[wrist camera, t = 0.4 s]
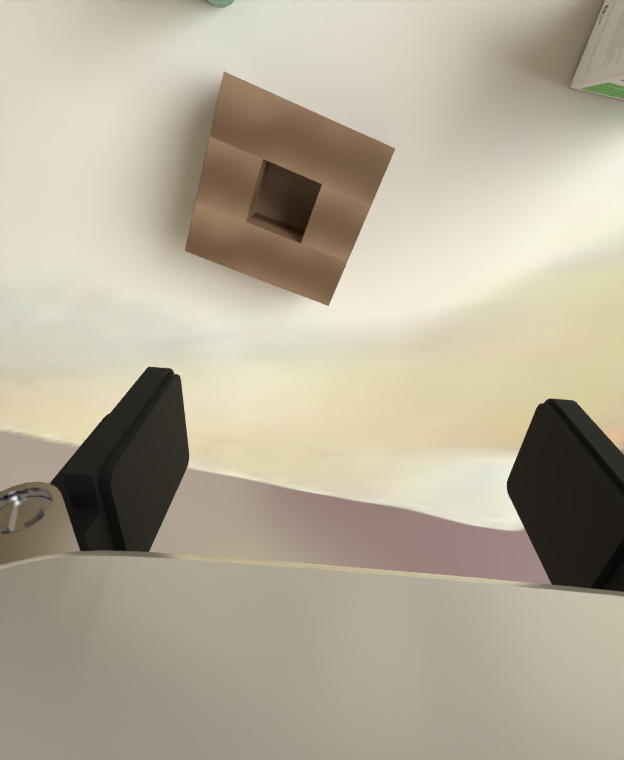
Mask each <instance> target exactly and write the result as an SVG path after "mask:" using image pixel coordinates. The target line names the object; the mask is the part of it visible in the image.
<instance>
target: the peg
mask: <svg viewBox="0 0 624 760" xmlns="http://www.w3.org/2000/svg"><path fill="white" fill-rule="evenodd" d="M207 1H208V2H209V3H211V4H212V5H214V6H217V7H225V6H228V5H230V4H231V3H233V2H234V0H207Z"/></svg>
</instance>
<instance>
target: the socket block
mask: <svg viewBox="0 0 624 760" xmlns="http://www.w3.org/2000/svg"><path fill="white" fill-rule="evenodd" d="M394 150H395V148H392V147H390V146H388V145H386V144H383V143H381V142H379V141H377V140H375V139H372V138H370V137H368V136H366V135H363V134H361V133H359V132H357V131H355V130H352V129H350V128H348V127H346V126H343V125H341V124H339V123H337V122H335V121H332V120H330V119H328V118H326V117H324V116H321V115H319V114H317V113H315V112H312V111H310V110H308V109H306V108H304V107H301V106H299V105H297V104H295V103H292V102H290V101H288V100H286V99H284V98H281V97H279V96H277V95H275V94H272V93H270V92H268V91H266V90H264V89H261V88H259V87H257V86H255V85H252V84H250V83H248V82H246V81H244V80H241V79H239V78H237V77H235V76H233V75H230V74H228V73H226V72H224V74H223V79H222V83H221V88H220V92H219V97H218V102H217V106H216V111H215V115H214V120H213V124H212V129H211V134H210V138H209V143H208V147H207V152H206V157H205V161H204V166H203V170H202V175H201V179H200V184H199V189H198V193H197V198H196V202H195V207H194V212H193V216H192V221H191V225H190V230H189V235H188V239H187V244H186V248H185V251H187V252H189V253H192V254H195V255H197V256H200V257H202V258H205V259H208V260H210V261H213V262H215V263H218V264H221V265H223V266H226V267H229V268H231V269H234V270H236V271H239V272H242V273H244V274H247V275H249V276H252V277H255V278H257V279H260V280H262V281H265V282H268V283H270V284H273V285H275V286H278V287H281V288H283V289H286V290H288V291H291V292H294V293H296V294H299V295H302V296H304V297H307V298H309V299H312V300H315V301H317V302H320V303H322V304H325V305H328V306H329V303H330V301H331V299H332V296H333V294H334V292H335V289H336V287H337V285H338V282H339V280H340V278H341V275H342V273H343V270H344V268H345V266H346V263H347V261H348V259H349V256H350V254H351V252H352V249H353V247H354V245H355V242H356V240H357V237H358V235H359V233H360V230H361V228H362V226H363V223H364V221H365V219H366V216H367V214H368V212H369V209H370V207H371V204H372V202H373V200H374V197H375V195H376V193H377V190H378V188H379V186H380V183H381V181H382V178H383V176H384V174H385V171H386V169H387V167H388V164H389V162H390V160H391V157H392V155H393V153H394Z"/></svg>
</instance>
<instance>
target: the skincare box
mask: <svg viewBox="0 0 624 760" xmlns="http://www.w3.org/2000/svg"><path fill="white" fill-rule="evenodd" d="M570 87H571V88H573V89H577V90H581V91H587V92H591V93H594V94H598V95H602V96H607V97H612V98H616V99H621V100H624V0H605V1H604V3H603V6H602V8H601V11H600V13H599V16H598V18H597V21H596V23H595V25H594V28H593V30H592V33H591V35H590V38H589V40H588V43H587V45H586V48H585V50H584V53H583V55H582V58H581V60H580V63H579V65H578V67H577V70H576V72H575V75H574V77H573V80H572V82H571V85H570Z"/></svg>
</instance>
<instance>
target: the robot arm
mask: <svg viewBox="0 0 624 760" xmlns="http://www.w3.org/2000/svg"><path fill="white" fill-rule="evenodd" d="M188 462H189V448H188V440H187V431H186V422H185V413H184V404H183V395H182V386H181V379H180V376H179V375H177V374H174V372H173V370H172V369H170V368H158V367H148V368H147V369H146V370H145V371H144V373H143V374H142V375H141V376H140V377H139V379H138V380H137V381H136V382H135V384H134V385H133V386H132V387H131V388H130V390H129V391H128V392H127V393H126V395H125V396H124V397H123V398H122V399H121V401H120V402H119V403H118V404H117V406H116V407H115V408H114V409H113V410H112V412H111V413H110V414H108V415H107V416H105V417H104V418H103V420H102V421H101V422H100V423H99V424H98V426H97V427H96V428H95V429H94V431H93V432H92V433H91V434H90V435H89V437H88V438H87V439H86V440H85V441H84V443H83V444H82V445H81V446H80V447H79V449H78V450H77V451H76V453H75V454H74V455H73V456H72V457H71V458H70V460H69V461H68V462H67V463H66V464H65V466H64V467H63V468H62V469H61V470H60V472H59V473H58V474H57V475H56V476H55V478H54V479H53V480H52V481H51V483H43V482H30V483H24V484H20V485H16V486H13V487H10V488H8V489H6V490H3V491H1V492H0V760H624V455H623V454H622V452H621V451H620V450H619V449H618V448H617V447H616V446H615V445H614V444H613V442H612V441H611V440H610V439H609V438H608V437H607V436H606V435H605V434H604V433H603V431H602V430H601V429H600V428H599V427H598V426H597V425H596V424H595V423H594V421H593V420H592V419H591V418H590V417H589V416H588V415H587V414H586V413H585V412H584V410H583V409H582V408H581V407H580V406H579V405H578V404H577V403H576V402H575V401H572V400H562V399H548V400H546V401H545V402H544V404H543V403H542V404H539V405H538V407H537V409H536V411H535V413H534V416H533V418H532V421H531V423H530V426H529V428H528V431H527V433H526V436H525V438H524V441H523V443H522V446H521V448H520V451H519V453H518V455H517V458H516V460H515V463H514V465H513V468H512V470H511V473H510V475H509V478H508V481H507V491H508V494H509V497H510V499H511V501H512V503H513V505H514V507H515V509H516V511H517V513H518V515H519V517H520V519H521V521H522V524H523V526H524V528H525V530H526V532H527V534H528V536H529V538H530V540H531V542H532V544H533V546H534V548H535V550H536V552H537V555H538V557H539V559H540V561H541V563H542V565H543V567H544V569H545V571H546V573H547V575H548V578H549V579H550V581H551V583H552V585H549V584H538V583H527V582H515V581H505V580H494V579H483V578H472V577H460V576H449V575H437V574H425V573H414V572H402V571H390V570H378V569H366V568H355V567H342V566H330V565H317V564H306V563H293V562H280V561H268V560H254V559H241V558H230V557H217V556H203V555H187V554H170V553H155V552H149V550H150V548H151V546H152V544H153V542H154V539H155V537H156V535H157V533H158V531H159V528H160V526H161V524H162V522H163V520H164V517H165V515H166V513H167V510H168V508H169V506H170V504H171V502H172V500H173V497H174V495H175V493H176V491H177V489H178V486H179V484H180V482H181V480H182V478H183V475H184V473H185V471H186V469H187V466H188Z"/></svg>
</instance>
